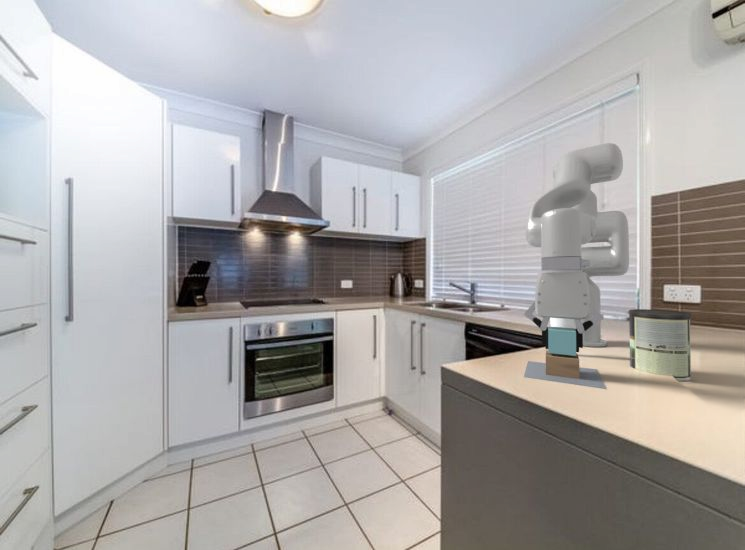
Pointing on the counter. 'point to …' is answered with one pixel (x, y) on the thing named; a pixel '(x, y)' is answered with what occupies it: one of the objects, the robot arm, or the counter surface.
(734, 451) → the counter surface
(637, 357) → the coffee can
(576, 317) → the robot arm
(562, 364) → the walnut base
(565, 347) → the teal block
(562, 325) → the white cup
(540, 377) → the plate
